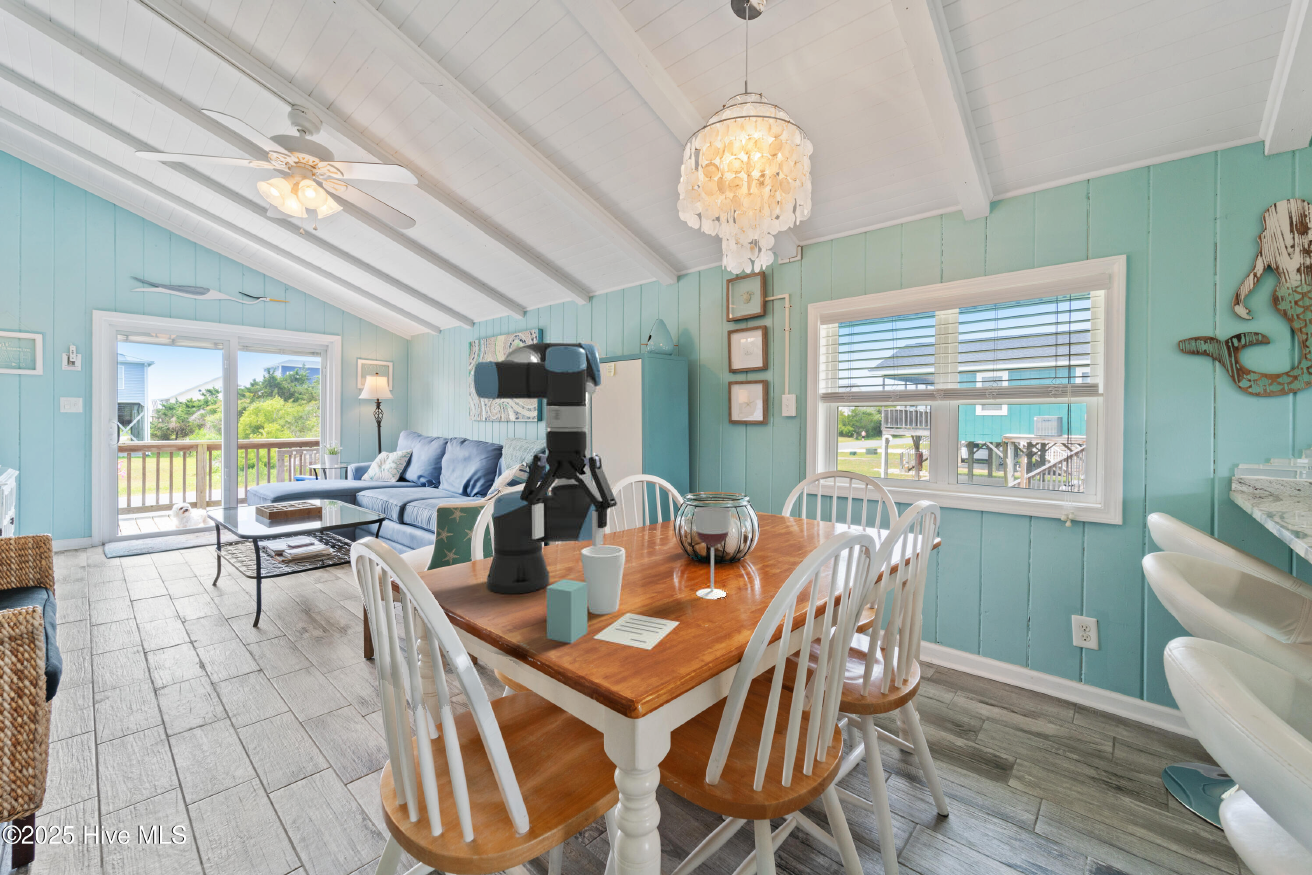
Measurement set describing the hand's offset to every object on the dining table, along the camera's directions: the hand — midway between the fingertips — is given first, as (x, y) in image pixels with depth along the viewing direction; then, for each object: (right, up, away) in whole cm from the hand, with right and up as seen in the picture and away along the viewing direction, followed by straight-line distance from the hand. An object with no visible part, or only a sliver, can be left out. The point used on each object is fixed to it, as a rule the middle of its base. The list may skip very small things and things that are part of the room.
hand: (567, 541), depth 103 cm
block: (0, -18, +1) cm, 18 cm away
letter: (+13, -18, +3) cm, 23 cm away
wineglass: (+30, -17, +25) cm, 43 cm away
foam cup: (+5, -18, +15) cm, 24 cm away
